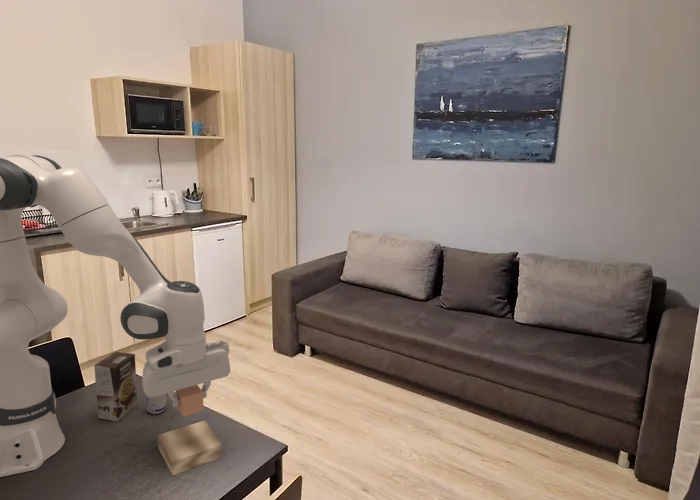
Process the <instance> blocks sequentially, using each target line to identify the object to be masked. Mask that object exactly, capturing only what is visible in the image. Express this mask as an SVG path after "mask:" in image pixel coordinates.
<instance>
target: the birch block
mask: <svg viewBox="0 0 700 500" xmlns="http://www.w3.org/2000/svg"><path fill="white" fill-rule="evenodd" d="M157 445H158V449H159V451H160V454H161V456H162V458H163V459H164V461H165V464H166V466H167V468H168V469H169V472H170V474H171V476H175V475H179V474H181V473H183V472H186V471H189V470H191V469H194V468H197V467H200V466H202V465H205V464H208V463H210V462H213V461H216V460H219V459H221V458H223V445H222V442H221V441H220V440H219V438H218V437H217V435H216V434H215V433H214V431H213V430H212V429H211V427H210V425H209V424H208V422H207V421H206V420H205V419H204V420H201V421H199V422H195V423H191V424H189V425H186V426H183V427H179V428H176V429H172V430H169V431H167V432H162V433H161V434H157Z"/></svg>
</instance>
